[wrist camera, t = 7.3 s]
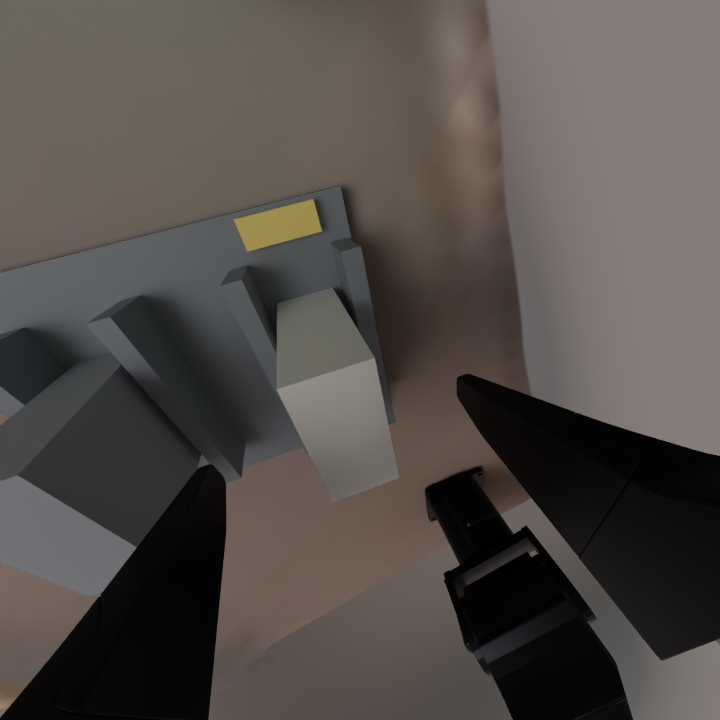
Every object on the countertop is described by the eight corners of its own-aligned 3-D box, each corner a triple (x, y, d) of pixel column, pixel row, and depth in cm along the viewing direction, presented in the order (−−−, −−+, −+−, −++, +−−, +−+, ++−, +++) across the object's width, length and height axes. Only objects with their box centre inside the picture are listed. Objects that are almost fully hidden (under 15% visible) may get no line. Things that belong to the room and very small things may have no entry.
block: (356, 379, 16) (399, 477, 11) (313, 394, 16) (333, 502, 10) (332, 287, 13) (375, 357, 7) (277, 303, 13) (276, 389, 7)
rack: (383, 406, 20) (437, 511, 13) (179, 478, 18) (123, 638, 12) (336, 186, 12) (408, 173, 5) (-30, 280, 10) (-569, 425, 4)
